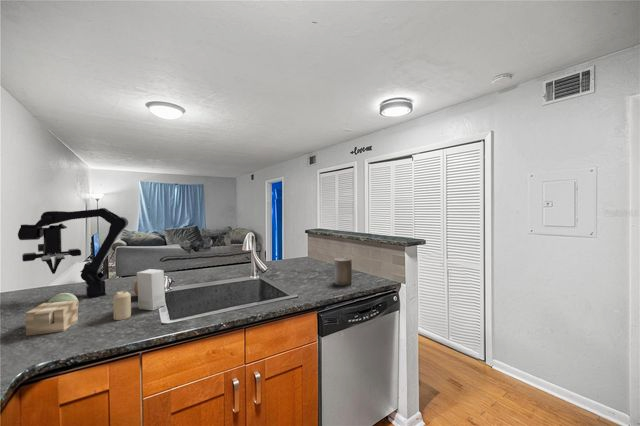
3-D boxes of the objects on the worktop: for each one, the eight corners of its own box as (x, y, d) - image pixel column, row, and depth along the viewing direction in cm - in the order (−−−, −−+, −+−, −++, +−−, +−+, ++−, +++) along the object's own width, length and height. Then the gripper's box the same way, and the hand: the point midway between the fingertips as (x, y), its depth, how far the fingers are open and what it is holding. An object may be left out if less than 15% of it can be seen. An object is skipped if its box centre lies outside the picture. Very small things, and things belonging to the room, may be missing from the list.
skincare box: (165, 305, 119) (165, 269, 119) (151, 311, 113) (151, 273, 112) (151, 303, 122) (150, 268, 121) (136, 308, 116) (136, 271, 115)
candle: (112, 321, 103) (111, 294, 103) (115, 316, 108) (114, 290, 108) (130, 318, 106) (129, 292, 106) (132, 313, 111) (131, 288, 111)
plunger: (49, 317, 104) (48, 294, 103) (79, 314, 107) (78, 291, 106) (24, 335, 90) (23, 307, 90) (58, 330, 93) (58, 304, 93)
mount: (44, 323, 102) (43, 302, 101) (78, 319, 105) (77, 299, 105) (26, 335, 92) (25, 313, 92) (63, 331, 95) (63, 309, 95)
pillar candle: (355, 283, 154) (355, 256, 154) (343, 287, 147) (343, 258, 147) (342, 280, 161) (342, 254, 161) (330, 283, 154) (330, 256, 154)
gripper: (76, 235, 137) (77, 267, 137) (21, 239, 123) (22, 274, 123) (81, 237, 129) (81, 271, 130) (22, 241, 115) (23, 279, 116)
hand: (53, 273), depth 125 cm, fingers closed
